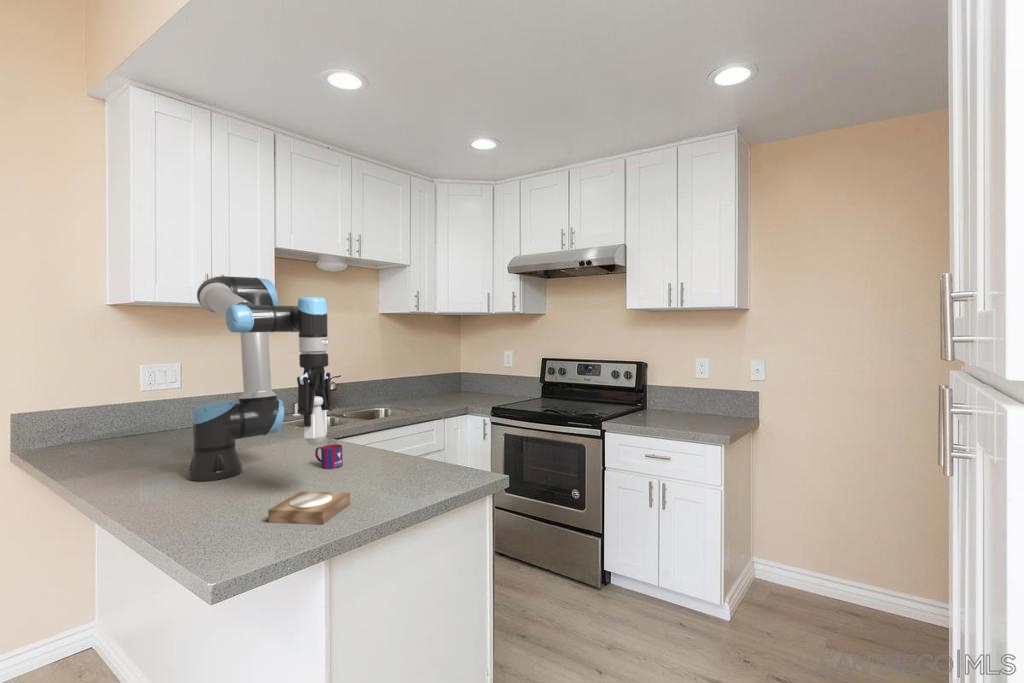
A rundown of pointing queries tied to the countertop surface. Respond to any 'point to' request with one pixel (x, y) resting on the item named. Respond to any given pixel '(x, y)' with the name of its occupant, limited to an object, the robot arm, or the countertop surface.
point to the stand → (309, 508)
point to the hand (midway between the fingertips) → (315, 435)
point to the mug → (330, 456)
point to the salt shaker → (318, 423)
